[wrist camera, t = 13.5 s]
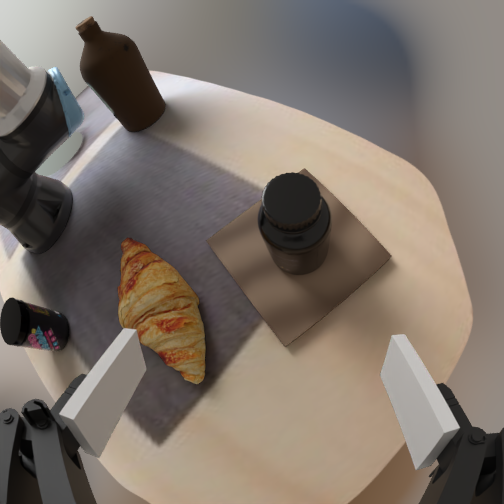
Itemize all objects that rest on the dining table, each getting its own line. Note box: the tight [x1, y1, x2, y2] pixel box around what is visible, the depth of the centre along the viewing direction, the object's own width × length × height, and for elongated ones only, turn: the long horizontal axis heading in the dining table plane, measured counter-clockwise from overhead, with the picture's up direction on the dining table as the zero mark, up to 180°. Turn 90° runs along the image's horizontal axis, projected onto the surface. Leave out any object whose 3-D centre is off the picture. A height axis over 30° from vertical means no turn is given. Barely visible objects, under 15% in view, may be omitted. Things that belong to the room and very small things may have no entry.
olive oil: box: [76, 16, 165, 132], centre depth 38 cm, size 11×11×25 cm
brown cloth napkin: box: [206, 168, 391, 347], centre depth 34 cm, size 16×16×1 cm
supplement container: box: [0, 298, 69, 351], centre depth 32 cm, size 7×7×10 cm
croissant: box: [118, 238, 206, 384], centre depth 33 cm, size 21×10×8 cm, turn 34°
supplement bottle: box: [257, 172, 332, 275], centre depth 27 cm, size 7×7×12 cm
